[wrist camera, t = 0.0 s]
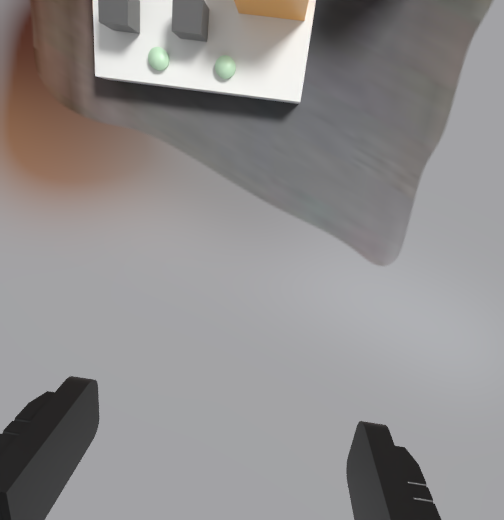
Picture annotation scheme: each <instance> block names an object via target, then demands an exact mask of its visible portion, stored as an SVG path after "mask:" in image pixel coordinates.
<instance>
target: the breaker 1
mask: <svg viewBox="0 0 504 520" xmlns="http://www.w3.org/2000/svg"><path fill="white" fill-rule="evenodd" d="M98 14H99V22H100V23H101V24H103V25H105V26H106V27H108V28H110V29H112V30H114V31H122V32H130V33H138V34H140V1H139V0H98Z"/></svg>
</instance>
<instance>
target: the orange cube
mask: <svg viewBox="0 0 504 520" xmlns="http://www.w3.org/2000/svg"><path fill="white" fill-rule="evenodd" d="M234 2H235V4H236V7H237V10H238V13H241V14H249V15H257V16H266V17H274V18H282V19H291V20H299V21H304V20H305V16H306V11H307V6H308V2H309V0H234Z"/></svg>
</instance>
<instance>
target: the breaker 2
mask: <svg viewBox="0 0 504 520" xmlns="http://www.w3.org/2000/svg"><path fill="white" fill-rule="evenodd" d="M208 23H209V8H208V6H207V5H206V3H205V1H204V0H173V2H172V32H173V33H175V34H176V35H177V36H178V37H179V38H180V39H188V40H196V41H204V42H207V39H208Z"/></svg>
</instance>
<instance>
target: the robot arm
mask: <svg viewBox="0 0 504 520" xmlns="http://www.w3.org/2000/svg"><path fill="white" fill-rule="evenodd" d="M98 424H99V402H98V385H97V381H96V380H92V379H86V378H79V377H73V376H71V377H69V378H67V379H66V380H65V382H64V383H63V384H62V385H61V386H60V387H59V388H58V389H57V391H56V392H55V393H54V392H48V391H47V392H46V393H44V394H42V395H41V396H39V397H38V398H36V399H34V400H33V401H31V402H30V403H28V404H27V406H26V407H25V408H24V409H23V410H22V411H21V412H20V413H19V414H18V415H17V416H16V418H15V420H14V421H12V422H11V423H10V424H9V425H8V426H7V427H6V428H5V429H4V431H3V434H0V520H45V518H46V516H47V514H48V513H49V511H50V509H51V508H52V506H53V505H54V503H55V502H56V500H57V498H58V497H59V495H60V493H61V492H62V490H63V488H64V486H65V485H66V483H67V481H68V480H69V478H70V477H71V475H72V474H73V472H74V470H75V469H76V467H77V465H78V463H79V462H80V460H81V459H82V457H83V455H84V454H85V452H86V450H87V449H88V447H89V446H90V444H91V442H92V440H93V439H94V437H95V434H96V431H97V428H98ZM347 482H348V488H349V493H350V498H351V504H352V509H353V514H354V519H355V520H441V518H440V516H439V514H438V511H437V508H436V506H435V504H433V499H432V496H431V494H430V491H429V489H428V487H426V481H425V479H424V477H423V474H422V472H421V469H420V467H419V465H418V463H417V462H416V461H415V460H414V458H413V457H412V456H411V455H410V453H409V452H408V451H407V450H406V448H405V447H399V446H395V445H394V443H393V440H392V437H391V435H390V432H389V429H388V427H387V426H386V425H382V424H375V423H368V422H362V421H360V422H359V423H358V425H357V428H356V432H355V435H354V439H353V442H352V445H351V449H350V452H349V455H348V459H347Z"/></svg>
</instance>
